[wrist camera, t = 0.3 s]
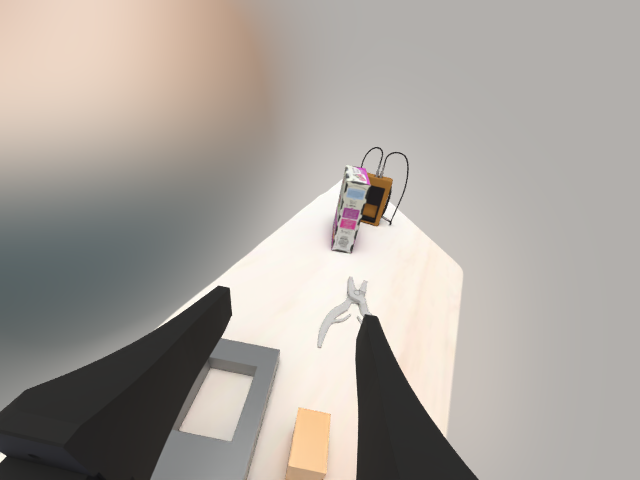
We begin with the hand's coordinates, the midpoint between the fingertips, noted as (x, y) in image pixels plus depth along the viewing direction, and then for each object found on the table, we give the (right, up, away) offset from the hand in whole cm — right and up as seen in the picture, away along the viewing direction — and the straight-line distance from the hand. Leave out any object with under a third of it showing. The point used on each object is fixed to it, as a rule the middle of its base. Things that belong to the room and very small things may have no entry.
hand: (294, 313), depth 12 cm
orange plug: (0, -18, +11) cm, 21 cm away
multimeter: (+15, +11, +57) cm, 60 cm away
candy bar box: (+7, +4, +45) cm, 46 cm away
